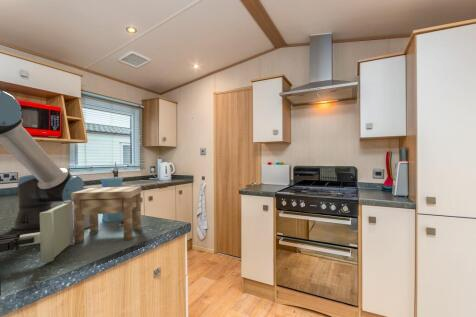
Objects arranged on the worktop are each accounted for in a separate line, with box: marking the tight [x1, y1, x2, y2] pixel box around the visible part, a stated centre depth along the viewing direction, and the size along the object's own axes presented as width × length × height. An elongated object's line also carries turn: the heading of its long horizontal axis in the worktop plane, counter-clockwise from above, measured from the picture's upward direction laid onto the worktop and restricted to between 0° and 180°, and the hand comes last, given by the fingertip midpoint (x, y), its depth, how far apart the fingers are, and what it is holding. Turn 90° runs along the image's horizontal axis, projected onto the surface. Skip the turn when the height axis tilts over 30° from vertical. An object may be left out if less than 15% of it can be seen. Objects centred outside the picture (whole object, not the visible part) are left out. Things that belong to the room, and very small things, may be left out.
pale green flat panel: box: [39, 200, 74, 264], centre depth 74 cm, size 17×3×15 cm, turn 16°
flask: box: [84, 214, 90, 230], centre depth 102 cm, size 7×7×10 cm
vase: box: [99, 177, 124, 223], centre depth 114 cm, size 8×8×20 cm
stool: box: [71, 185, 143, 244], centre depth 91 cm, size 20×14×18 cm
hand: (49, 235), depth 71 cm, fingers closed
